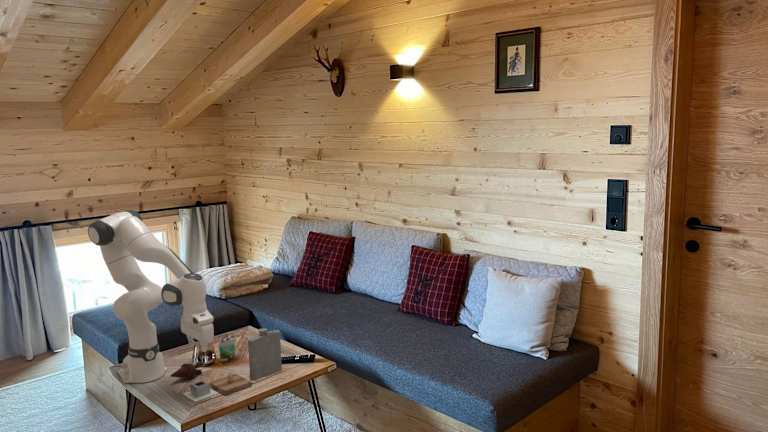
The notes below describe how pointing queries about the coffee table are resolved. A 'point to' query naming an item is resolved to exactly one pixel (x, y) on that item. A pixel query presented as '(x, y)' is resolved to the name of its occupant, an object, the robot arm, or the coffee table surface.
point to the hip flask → (264, 354)
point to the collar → (200, 388)
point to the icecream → (188, 371)
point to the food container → (227, 348)
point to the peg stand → (230, 384)
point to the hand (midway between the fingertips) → (197, 348)
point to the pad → (201, 396)
